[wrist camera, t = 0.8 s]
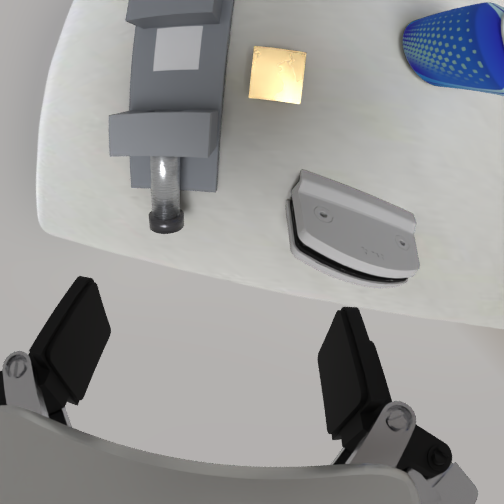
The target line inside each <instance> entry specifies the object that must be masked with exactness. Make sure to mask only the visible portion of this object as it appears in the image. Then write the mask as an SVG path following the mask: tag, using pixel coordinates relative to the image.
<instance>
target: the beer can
mask: <svg viewBox="0 0 504 504" xmlns="http://www.w3.org/2000/svg"><path fill="white" fill-rule="evenodd" d="M403 49H404V53H405V56H406V58H407V61H408V62H409V64H410V66H411V67H412V69H413V70H414V71H415V73H416V74H417V75H418V76H419V77H420V78H422V79H423V80H424V81H426V82H427V83H429V84H432V85H435V86H440V87H450V88H459V89H467V90H474V91H480V92H486V93H492V94H497V95H502V96H504V8H503V7H501V6H499V5H497V4H494V3H488V2H486V3H480V4H475V5H470V6H465V7H461V8H456V9H452V10H449V11H445V12H441V13H438V14H434V15H431V16H427V17H424V18H421V19H418V20H415V21H413V22H411V23H410V24H409V25H408V26H407V27H406V29H405V31H404V34H403Z"/></svg>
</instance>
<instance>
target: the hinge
mask: <svg viewBox="0 0 504 504" xmlns="http://www.w3.org/2000/svg"><path fill="white" fill-rule="evenodd" d="M291 193H292V200H290V201H289V200H287V203H286V215H287V223H288V232H289V241H290V250H291V253H292V254H293V256H294V257H295V258H297V259H299V260H300V261H302V262H304V263H305V264H307V265H309V266H311V267H313V268H315V269H316V270H318V271H321V272H323V273H325V274H327V275H329V276H332V277H334V278H337V279H339V280H342V281H345V282H349V283H352V284H356V285H360V286H366V287H373V288H390V287H397V286H400V285H402V284H404V283H406V282H407V281H408V277H413V276H414V275H415V273H416V272H417V271H418V269H419V268H420V263H419V258H418V252H417V247H416V242H415V237H414V232H415V228H416V220H415V217H414V215H413V214H412V213H410V212H408V211H406V210H404V209H402V208H399V207H397V206H395V205H393V204H390V203H388V202H386V201H383V200H381V199H379V198H376V197H374V196H372V195H369V194H367V193H364V192H362V191H359V190H357V189H354V188H352V187H349V186H347V185H344V184H342V183H339V182H336V181H334V180H331V179H328V178H325V177H323V176H320V175H317V174H314V173H311V172H309V171H306V170H303V169H302V170H301V172H300V181H299V182H298V183H297V185H296V186H295V187H294V188H293V190H292V191H291Z"/></svg>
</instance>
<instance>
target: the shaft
mask: <svg viewBox="0 0 504 504" xmlns="http://www.w3.org/2000/svg"><path fill="white" fill-rule="evenodd" d="M150 172H151V197H152V211H151V212H150V213H149V223H150V229H151V230H152V231H154V232H156V233H161V234H169V233H174V232H177V231H179V230H181V229H182V228H183V226H184V213H183V211H182V210H181V209H180V157H172V156H150Z"/></svg>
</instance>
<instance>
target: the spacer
mask: <svg viewBox="0 0 504 504" xmlns="http://www.w3.org/2000/svg"><path fill="white" fill-rule="evenodd" d="M305 60H306V53H305V52H299V51H293V50H286V49H278V48H270V47H260V46H254V52H253V61H252V71H251V80H250V90H249V98H255V99H265V100H274V101H282V102H289V103H296V104H300V101H301V93H302V85H303V77H304V69H305Z"/></svg>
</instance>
